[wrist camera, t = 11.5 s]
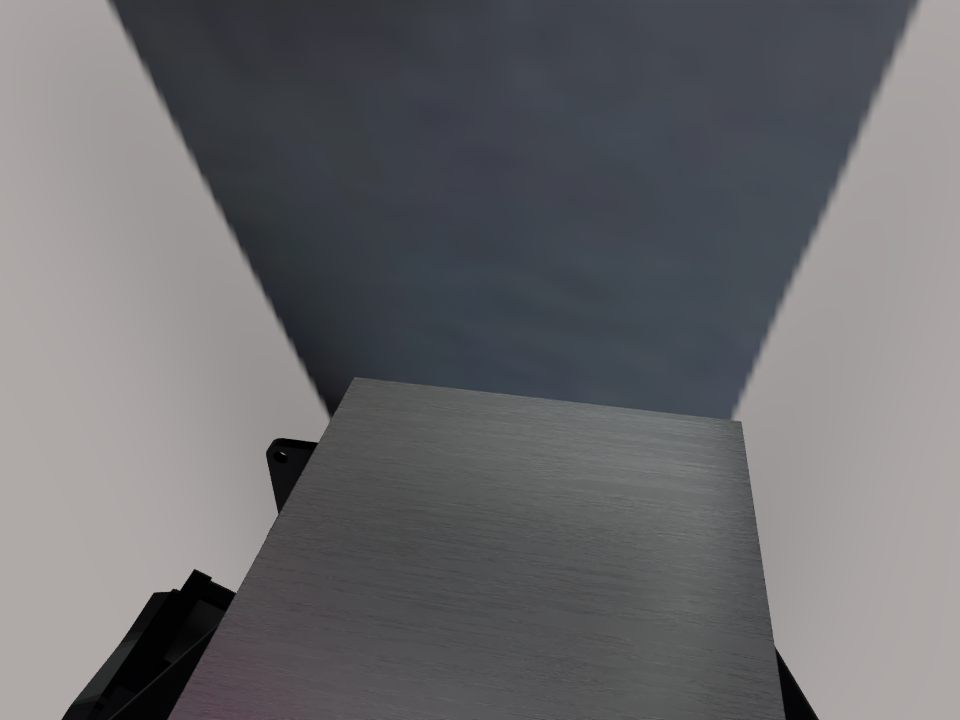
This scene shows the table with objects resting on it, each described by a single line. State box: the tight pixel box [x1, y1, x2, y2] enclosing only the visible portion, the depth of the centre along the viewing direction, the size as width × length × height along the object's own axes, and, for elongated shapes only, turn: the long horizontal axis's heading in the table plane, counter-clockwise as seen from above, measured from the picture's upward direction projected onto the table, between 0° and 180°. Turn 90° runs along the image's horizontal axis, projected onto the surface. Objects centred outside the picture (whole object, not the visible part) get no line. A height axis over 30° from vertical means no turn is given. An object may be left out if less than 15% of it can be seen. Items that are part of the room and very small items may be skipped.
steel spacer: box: [167, 377, 785, 720], centre depth 8 cm, size 4×4×4 cm
